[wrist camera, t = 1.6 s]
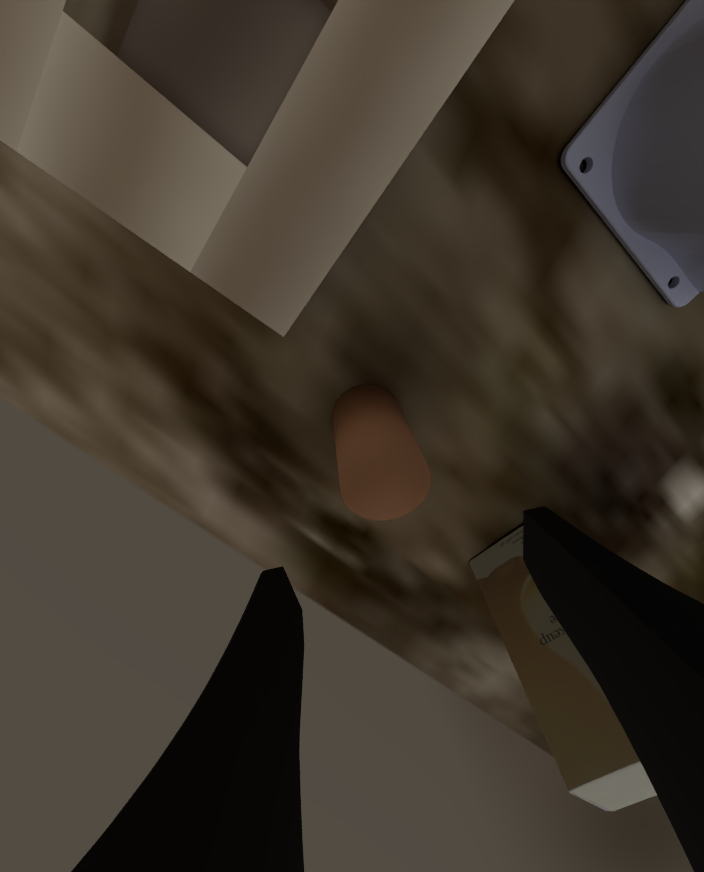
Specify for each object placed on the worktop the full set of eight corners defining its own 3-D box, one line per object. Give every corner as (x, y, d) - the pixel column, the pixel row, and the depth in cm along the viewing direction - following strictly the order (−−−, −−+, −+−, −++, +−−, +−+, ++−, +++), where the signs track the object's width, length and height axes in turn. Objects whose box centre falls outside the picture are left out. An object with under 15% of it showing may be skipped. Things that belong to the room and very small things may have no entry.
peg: (413, 408, 20) (449, 475, 15) (370, 456, 21) (390, 533, 16) (360, 370, 19) (380, 429, 13) (318, 423, 20) (321, 495, 15)
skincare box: (543, 507, 24) (724, 731, 14) (575, 540, 26) (757, 761, 15) (462, 563, 26) (567, 799, 16) (497, 590, 28) (612, 819, 17)
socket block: (486, 19, 13) (551, -54, 10) (288, 312, 17) (283, 337, 14) (131, -463, 9) (11, -925, 5) (-22, 87, 13) (-147, 38, 9)
